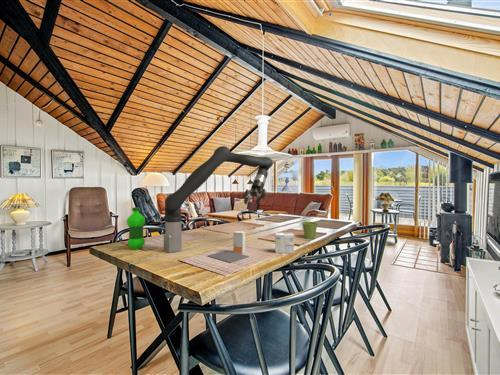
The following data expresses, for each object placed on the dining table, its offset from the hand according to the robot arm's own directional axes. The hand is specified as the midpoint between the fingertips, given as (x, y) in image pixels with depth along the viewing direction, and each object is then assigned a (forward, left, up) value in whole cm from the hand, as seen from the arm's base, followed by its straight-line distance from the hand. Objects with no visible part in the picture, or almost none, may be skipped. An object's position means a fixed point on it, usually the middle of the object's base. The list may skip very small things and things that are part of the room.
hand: (251, 203), depth 154 cm
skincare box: (-12, -1, -28) cm, 30 cm away
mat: (-22, -2, -28) cm, 35 cm away
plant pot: (+50, -13, -28) cm, 59 cm away
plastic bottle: (-46, +54, -28) cm, 76 cm away
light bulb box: (+6, -20, -28) cm, 35 cm away
